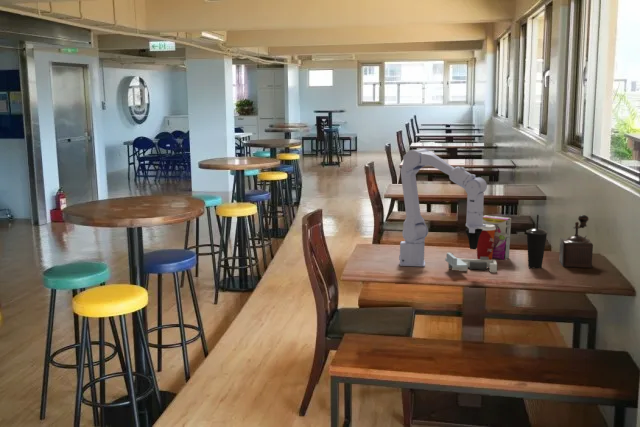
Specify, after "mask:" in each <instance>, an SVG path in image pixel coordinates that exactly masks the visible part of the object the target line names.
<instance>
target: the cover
mask: <svg viewBox="0 0 640 427" xmlns="http://www.w3.org/2000/svg"><path fill="white" fill-rule="evenodd" d="M451 253H452V252H446V257H445V258H444V262H447V263H448V264H450V265H451V266H452V267H467V264H466V263H464V262H463V261H462V260H460V259H461V258H459V257H456V256H455V255H454V254H453V253H452V254H453V255H452V254H451ZM467 268H468V267H467Z"/></svg>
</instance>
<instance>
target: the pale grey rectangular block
mask: <svg viewBox="0 0 640 427" xmlns="http://www.w3.org/2000/svg"><path fill="white" fill-rule="evenodd" d="M450 253H451V254H452V255H454V254H453V253H452V252H450ZM459 259H460V260H462V261H463V262H464V263H466V264H467V267H452V266H451V265H450V264H449V263H448V265H447V266H448V269H449V268H452V269H451V271H452V270H459V271H458V272H468V268H470V261H471V262H487V267H488V268H487V269H489V271H490V272H489V273H497V272H498V271H497V270H498V263H497V261H496V260H497V259H492V260H489V257H480V259H476V258H459ZM489 267H490V268H489Z"/></svg>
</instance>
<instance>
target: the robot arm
mask: <svg viewBox="0 0 640 427" xmlns="http://www.w3.org/2000/svg"><path fill="white" fill-rule="evenodd" d="M402 159H403V161H402V166H401V169H400V178H401V185H402V193H403V202H404V208H405V216H406V217H405V220H404V221H403V223H402V224H403V229H402V231H401V232H402V238H403V241H402V240H401V241H400V244H399V257H398V260H399V266H400V267H401V266H402V267H403V266H405V267H421V268H422V267H424V268H425V266H426V260H425V240H426V237H427V236H428V234H429V229H428V226H427V224H426V221H425V219H424V217H423V216H422V215H421V208H420V199H419V191H418V184H417V177H416V175H417V174H418V173H419V171H420V170H421V169H422V168H424V167H425V166H431V167H433V168H435V169H437V170H439V171H440V172H442V173H443V174H445V175H448V177H449V180H450V181H451V182H453V184H456V185H458V187H461V188H462V189H463V190H464V191H465V193H466V194H467V198H466V200H467V201H466V221H465V222H466V223H465V227H466V229H465V233H466V236H467V239H468V245H469V246H468V247H469V248H470V250H476V251H477V245H478V240H479V237H480V234H481V232H482V230H483V229H479V228H481V227H486V224H483V216H484V201H485V200H484V199H485V198H484V197H485V196H484V195H485V191H486V190H487V187H488V184H487V181H486V180H485V178H483V177H480V176H478V177H476V176H477V175H476V174H473V173H470V172H468V171H467V170H465V169H466V168H465V167H464V166H455V167H454V166H452V165H451V164H449V163H448V162H447V161H445V160H444V159H443V158H442V157H440V156H438V155H436V153H434V152H433V151H431V150H429V149H427V148H421V149H409V150H407V152H406V153H405V154H404V155H403V156H402Z"/></svg>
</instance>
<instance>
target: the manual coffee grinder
mask: <svg viewBox="0 0 640 427" xmlns="http://www.w3.org/2000/svg"><path fill="white" fill-rule="evenodd" d="M577 220H578V221H576V222H575V224H574V226H572V227H573V228H572V229H574V230H575V233H574V235H571V236H569V237H567V238H566V237H560V239H559V259H558V260H559V263H560V265H561V266H562V267H563V268H573V269H574V268H575V269H576V268H577V269H579V268H580V269H593V264H592V263H593V251H594V244H593V243H592V242H591V241H590V239H589V238H587V235H585V236H582V235H580V234H579V229H584V228H587V227H588V225H587V223H588V221H589V220H590V218H589V216H588V215H586V214H580V215H578V217H577Z"/></svg>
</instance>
